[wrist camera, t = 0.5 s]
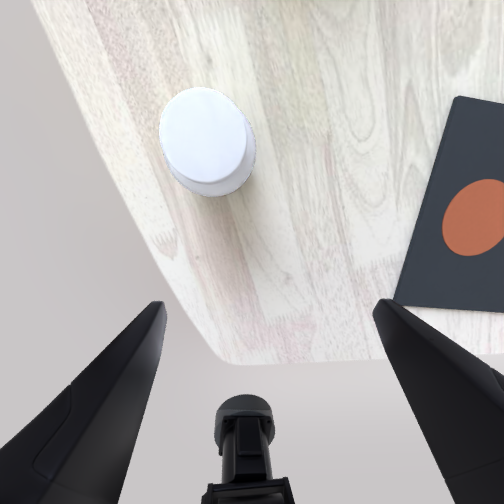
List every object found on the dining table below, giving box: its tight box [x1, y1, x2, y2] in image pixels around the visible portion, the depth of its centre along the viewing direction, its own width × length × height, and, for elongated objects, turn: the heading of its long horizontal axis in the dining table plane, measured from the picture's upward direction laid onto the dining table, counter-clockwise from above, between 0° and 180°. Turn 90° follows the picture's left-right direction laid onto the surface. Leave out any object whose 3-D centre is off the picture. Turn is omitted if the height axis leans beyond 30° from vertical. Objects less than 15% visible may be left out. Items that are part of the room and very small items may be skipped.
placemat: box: [393, 96, 504, 313], centre depth 23 cm, size 20×16×1 cm
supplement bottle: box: [159, 87, 256, 197], centre depth 15 cm, size 5×5×10 cm
